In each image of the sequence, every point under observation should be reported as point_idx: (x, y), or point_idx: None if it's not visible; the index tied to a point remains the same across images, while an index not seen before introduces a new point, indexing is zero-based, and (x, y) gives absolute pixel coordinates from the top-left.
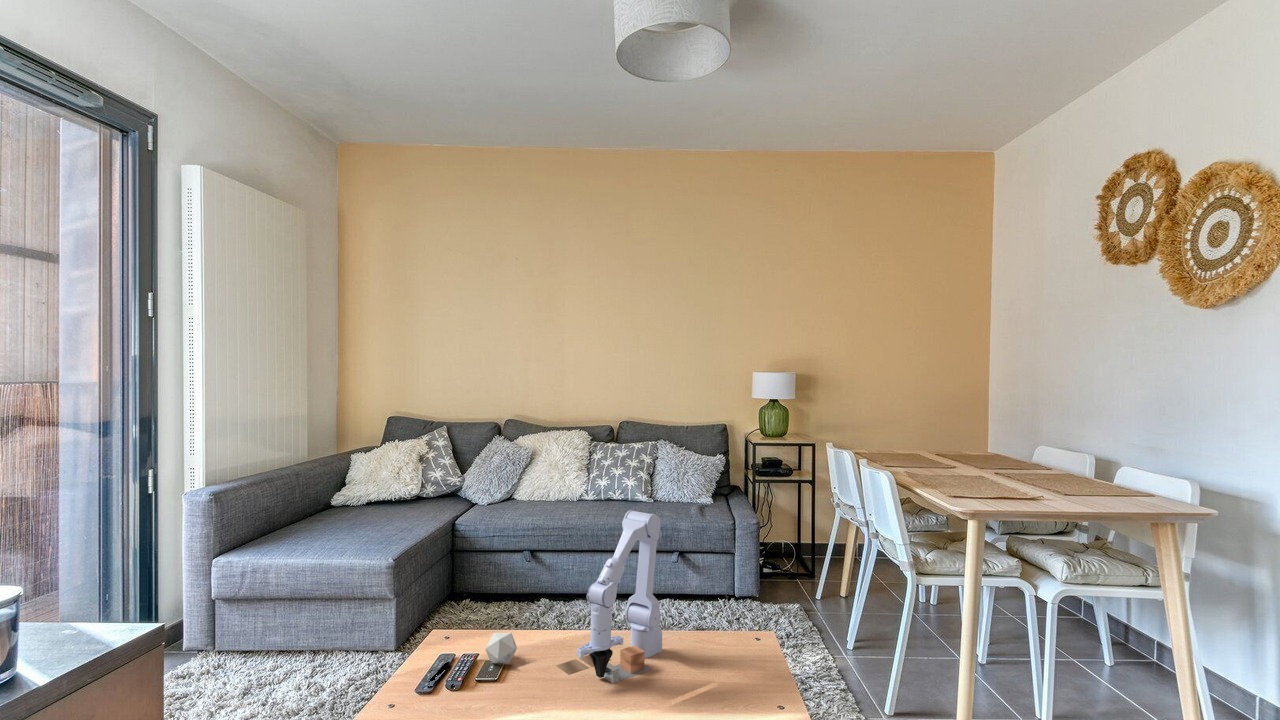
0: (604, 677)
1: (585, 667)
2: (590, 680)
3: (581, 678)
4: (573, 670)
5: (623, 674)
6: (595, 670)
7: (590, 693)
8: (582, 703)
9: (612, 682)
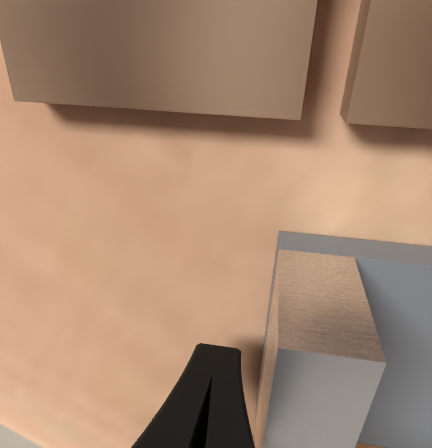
0: (263, 360)
1: (270, 81)
2: (191, 252)
3: (145, 177)
4: (101, 48)
5: (429, 409)
6: (180, 379)
7: (94, 361)
8: (9, 392)
9: (254, 431)
